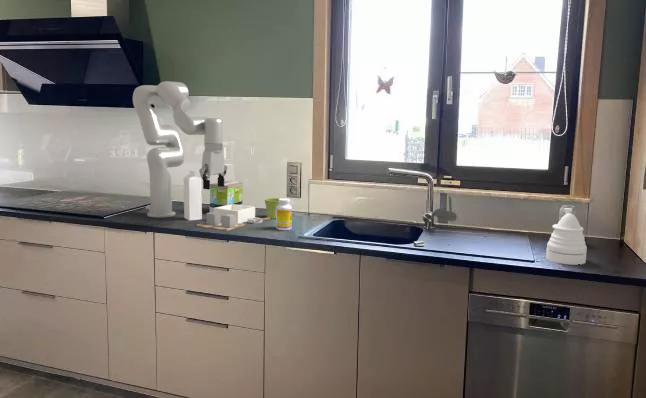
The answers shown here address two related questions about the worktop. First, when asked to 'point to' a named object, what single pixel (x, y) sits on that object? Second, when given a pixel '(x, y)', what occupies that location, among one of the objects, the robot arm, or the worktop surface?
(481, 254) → the worktop surface
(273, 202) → the plant pot
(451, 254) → the worktop surface
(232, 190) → the tea box
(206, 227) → the tray
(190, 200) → the milk
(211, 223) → the grey block
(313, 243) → the worktop surface
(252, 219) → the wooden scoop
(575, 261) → the honey pot
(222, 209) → the bin
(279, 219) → the supplement bottle
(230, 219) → the gray block
